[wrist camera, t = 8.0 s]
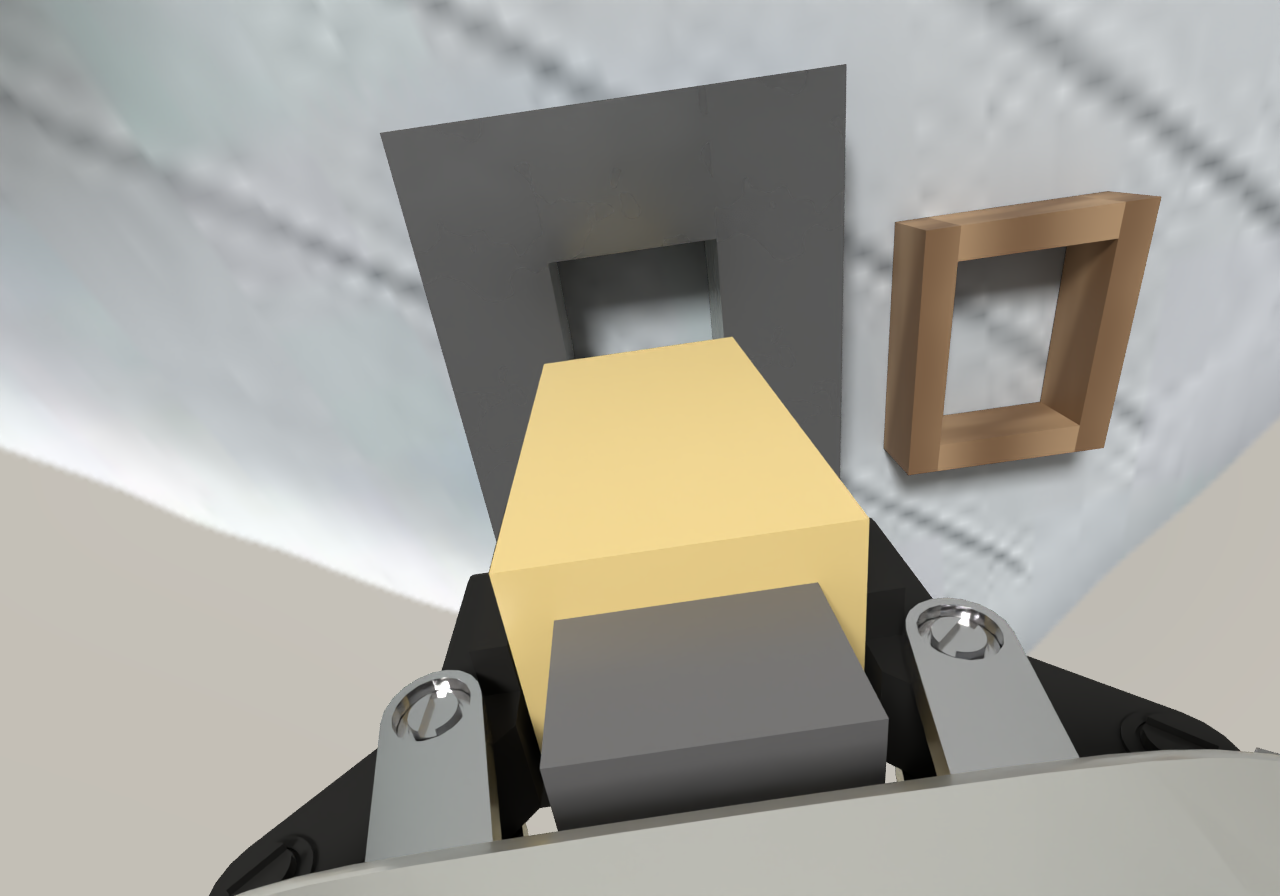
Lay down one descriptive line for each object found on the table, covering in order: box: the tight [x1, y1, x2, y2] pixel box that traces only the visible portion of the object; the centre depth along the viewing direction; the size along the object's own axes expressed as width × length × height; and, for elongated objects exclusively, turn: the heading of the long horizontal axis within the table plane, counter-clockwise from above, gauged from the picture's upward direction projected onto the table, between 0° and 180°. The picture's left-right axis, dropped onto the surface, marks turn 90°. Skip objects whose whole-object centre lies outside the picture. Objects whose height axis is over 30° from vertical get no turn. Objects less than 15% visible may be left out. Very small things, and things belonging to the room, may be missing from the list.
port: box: [380, 64, 846, 542], centre depth 23 cm, size 14×16×3 cm
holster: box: [884, 191, 1161, 475], centre depth 24 cm, size 8×10×2 cm
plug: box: [489, 337, 889, 831], centre depth 11 cm, size 4×6×10 cm
